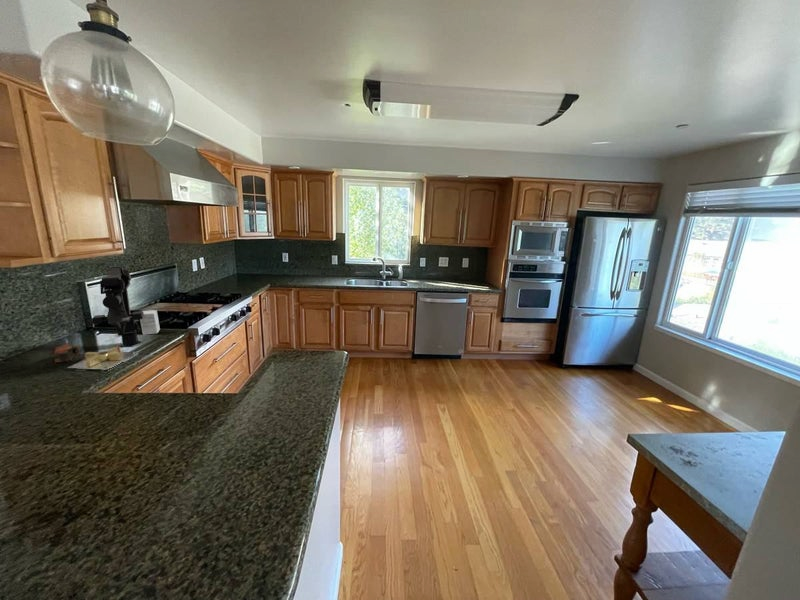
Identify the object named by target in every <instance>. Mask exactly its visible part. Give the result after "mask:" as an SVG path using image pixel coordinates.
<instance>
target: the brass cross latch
mask: <svg viewBox="0 0 800 600" xmlns="http://www.w3.org/2000/svg"><path fill="white" fill-rule="evenodd" d="M120 352H121V348H120V346H113V347H112V348H109V349H107V350H103V351H97V352H95V351H87V352H85V353H84V357H85V358H84V359H87V360H85V361H86V365H87V367H91V366H93V365H95V364H97V363H99V362H102V361H107V360H121V359H123V358H122V353H120Z"/></svg>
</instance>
